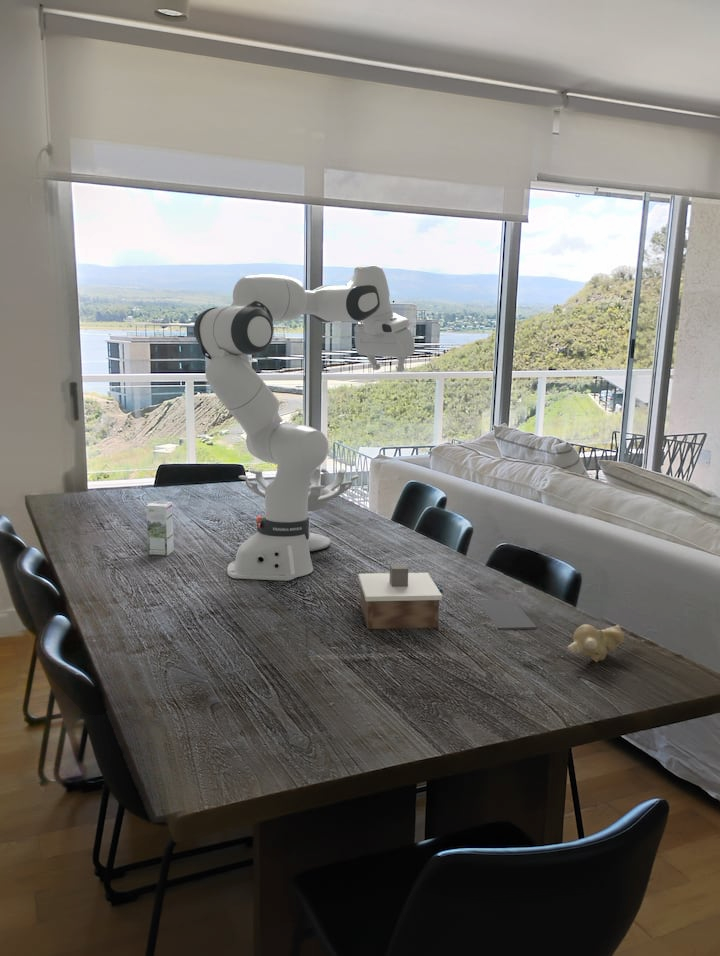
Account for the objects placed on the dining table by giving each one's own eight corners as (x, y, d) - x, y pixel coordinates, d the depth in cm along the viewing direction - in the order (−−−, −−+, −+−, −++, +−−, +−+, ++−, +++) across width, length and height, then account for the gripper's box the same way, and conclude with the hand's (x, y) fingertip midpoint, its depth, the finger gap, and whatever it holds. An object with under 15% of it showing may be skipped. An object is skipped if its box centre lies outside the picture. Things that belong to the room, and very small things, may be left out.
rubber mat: (454, 630, 165) (454, 628, 165) (437, 602, 182) (437, 600, 182) (536, 628, 167) (536, 626, 167) (512, 600, 184) (512, 599, 184)
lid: (365, 606, 161) (366, 578, 160) (358, 582, 177) (358, 556, 176) (441, 605, 163) (442, 577, 162) (427, 581, 179) (428, 555, 178)
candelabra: (362, 533, 246) (363, 447, 241) (349, 564, 211) (351, 465, 207) (256, 528, 249) (255, 444, 244) (226, 559, 215) (225, 461, 210)
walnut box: (367, 632, 163) (368, 600, 162) (360, 608, 178) (360, 578, 176) (438, 630, 165) (439, 599, 163) (425, 606, 179) (425, 577, 178)
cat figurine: (627, 625, 153) (597, 622, 144) (629, 662, 151) (599, 662, 143) (588, 626, 159) (557, 623, 150) (590, 662, 157) (559, 661, 148)
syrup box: (174, 550, 222) (173, 501, 219) (167, 556, 216) (165, 505, 214) (154, 550, 222) (153, 500, 220) (147, 555, 217) (145, 504, 214)
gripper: (345, 326, 222) (355, 372, 228) (398, 326, 208) (407, 375, 213) (360, 319, 226) (370, 364, 231) (413, 319, 211) (422, 368, 217)
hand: (388, 370), depth 222 cm, fingers open, 8 cm apart
